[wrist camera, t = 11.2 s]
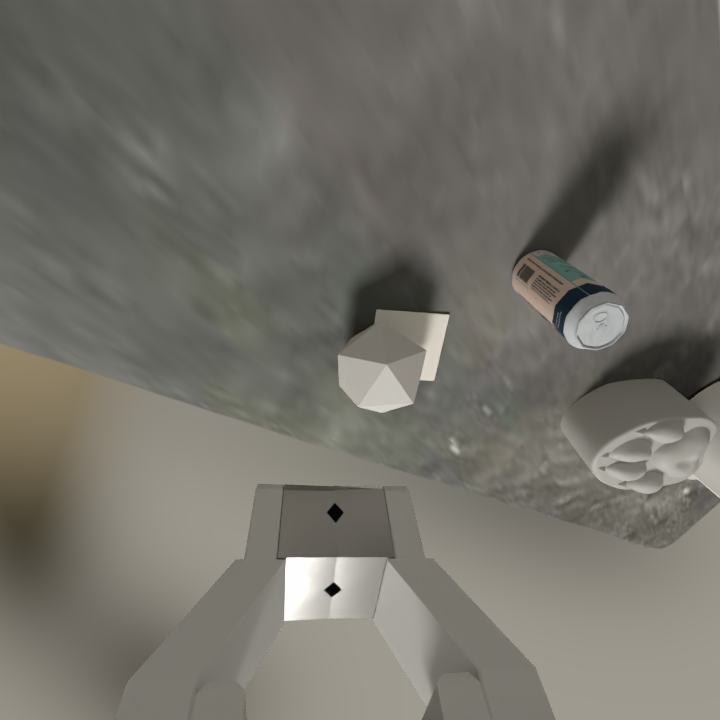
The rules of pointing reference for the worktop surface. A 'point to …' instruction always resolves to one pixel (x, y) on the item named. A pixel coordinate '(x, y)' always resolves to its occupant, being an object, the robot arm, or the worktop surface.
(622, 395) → the lumpy-topped squat cylinder
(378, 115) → the worktop surface
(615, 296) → the beer can
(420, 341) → the pad
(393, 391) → the die
